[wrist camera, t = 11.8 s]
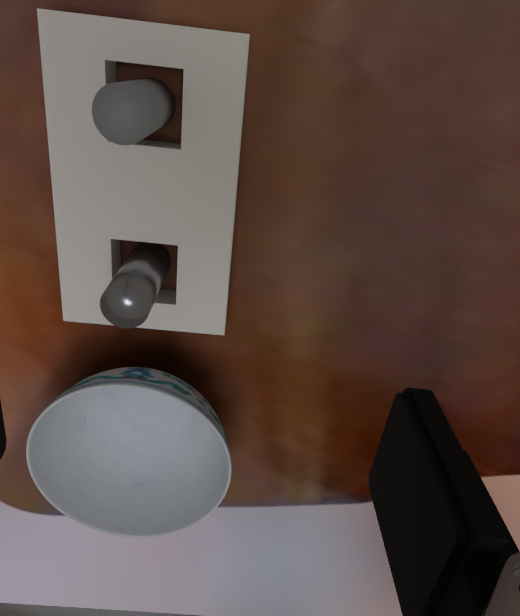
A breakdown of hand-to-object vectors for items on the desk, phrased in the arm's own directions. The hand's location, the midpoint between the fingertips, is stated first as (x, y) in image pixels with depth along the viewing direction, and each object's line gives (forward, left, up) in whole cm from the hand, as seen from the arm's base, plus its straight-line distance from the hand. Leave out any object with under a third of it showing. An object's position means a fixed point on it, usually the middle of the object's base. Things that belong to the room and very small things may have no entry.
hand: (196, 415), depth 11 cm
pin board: (+1, -6, -25) cm, 26 cm away
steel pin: (+6, -6, -25) cm, 27 cm away
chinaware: (+20, -6, -26) cm, 33 cm away
